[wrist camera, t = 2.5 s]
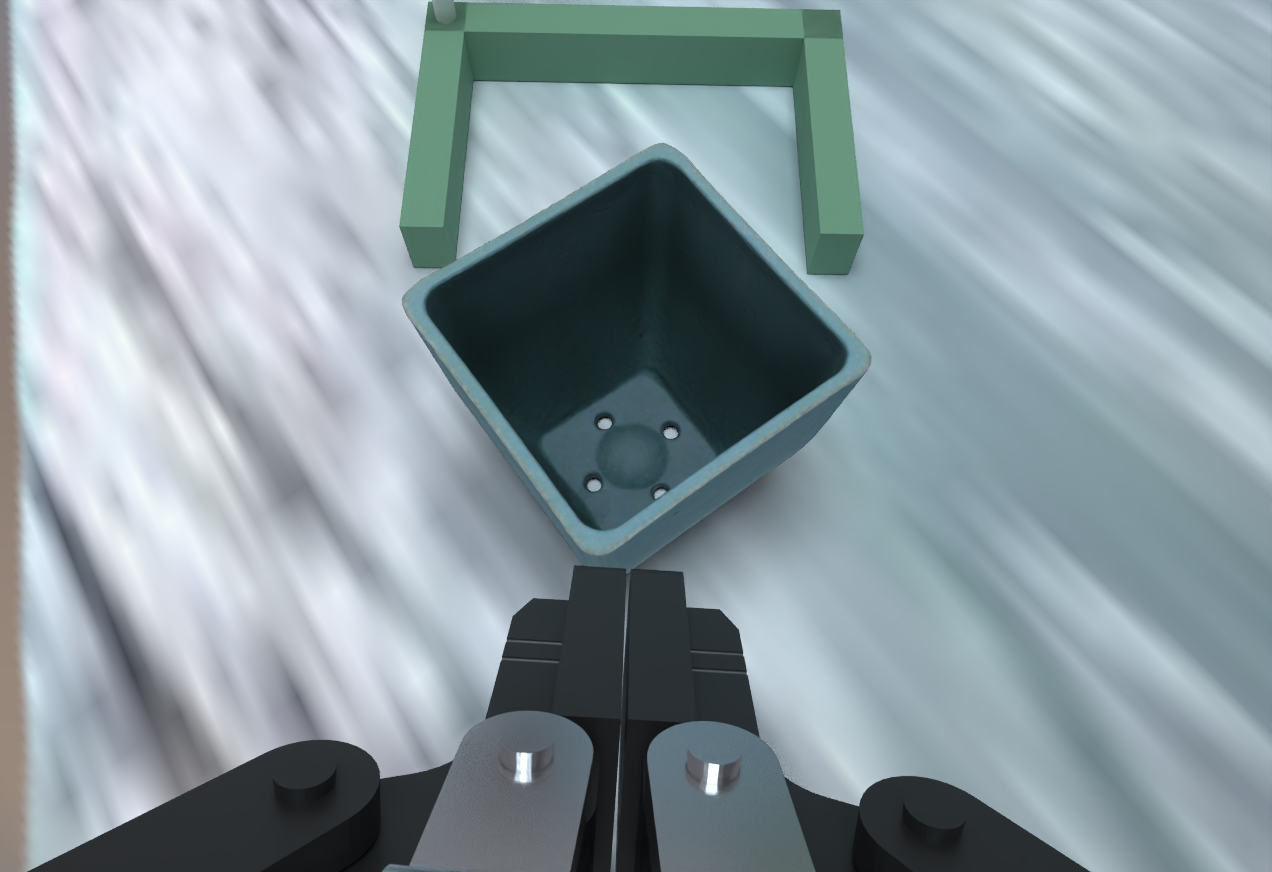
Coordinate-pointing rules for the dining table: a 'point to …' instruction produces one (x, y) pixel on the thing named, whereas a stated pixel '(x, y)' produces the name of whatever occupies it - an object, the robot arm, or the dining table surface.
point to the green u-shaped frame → (632, 53)
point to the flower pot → (636, 354)
